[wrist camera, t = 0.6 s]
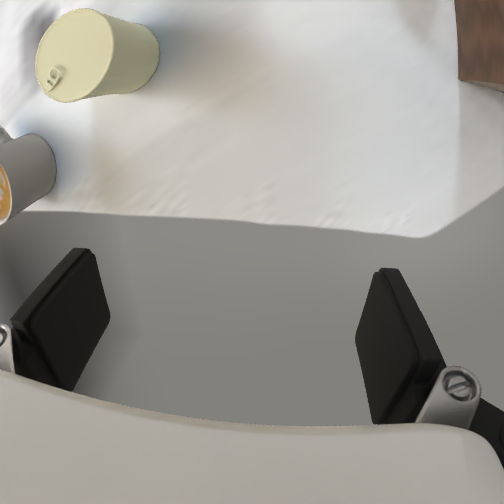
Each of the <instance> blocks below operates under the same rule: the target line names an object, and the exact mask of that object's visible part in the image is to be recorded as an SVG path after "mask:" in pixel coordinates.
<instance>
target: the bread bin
mask: <svg viewBox="0 0 504 504" xmlns="http://www.w3.org/2000/svg"><path fill="white" fill-rule="evenodd" d="M454 2H455V11H456V22H457V37H458V68H459V78H458V79H459V80H462V81H466V82H470V83H473V84H477V85H480V86H484V87H487V88H491V89H494V90H497V91H500V92H503V93H504V0H454Z"/></svg>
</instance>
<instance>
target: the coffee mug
mask: <svg viewBox="0 0 504 504" xmlns="http://www.w3.org/2000/svg"><path fill="white" fill-rule="evenodd" d="M55 178H56V162H55V158H54V154H53V152H52V150H51V148H50V146H49V145H48V143H47V142H46V141H45V140H44V139H43V138H42V137H40V136H38V135H36V134H26V135H24V136H22V137H19V138H16V139H12V138H11V137H10V136H9V134H8V133H7V132H6V131H5V129H4V128H3V127H1V126H0V225H2V224H4V223H5V222H7V221H8V220H9V219H11V218H12V217H14V216H15V215H16V214H18V213H19V212H21V211H22V210H24V209H25V208H26V207H28V206H29V205H31V204H32V203H34V202H35V201H37V200H38V199H40V198H41V197H43V196H44V195H46V194H47V193H48V192H49V191H50V190H51V189H52V187H53V184H54V182H55Z"/></svg>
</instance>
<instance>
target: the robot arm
mask: <svg viewBox="0 0 504 504" xmlns="http://www.w3.org/2000/svg"><path fill="white" fill-rule="evenodd" d="M10 320H11V322H12V325H13V328H12V329H11V330H10V328H9V327H8V326H7V325H5V324H0V504H504V412H503V411H502V410H500V409H498V408H497V407H495V406H493V405H492V404H490V403H488V402H487V401H485V400H483V399H482V398H480V397H481V385H480V382H479V380H478V378H477V377H476V376H475V375H474V374H473V373H472V372H471V371H469V370H468V369H466V368H464V367H461V366H449V367H447V366H446V364H445V362H444V359H443V357H442V355H441V353H440V350H439V348H438V346H437V344H436V342H435V339H434V337H433V335H432V333H431V331H430V329H429V327H428V325H427V322H426V320H425V318H424V316H423V314H422V312H421V311H420V309H419V308H418V306H417V303H416V301H415V299H414V297H413V296H412V293H411V292H410V290H409V288H408V286H407V284H406V282H405V280H404V278H403V277H402V275H401V273H400V271H399V270H398V269H395V268H381V269H380V270H379V272H375V273H374V275H373V278H372V282H371V285H370V289H369V292H368V296H367V299H366V302H365V306H364V309H363V312H362V316H361V319H360V322H359V325H358V328H357V331H356V336H355V343H356V347H357V352H358V356H359V360H360V364H361V369H362V374H363V378H364V383H365V388H366V393H367V397H368V403H369V407H370V413H371V418H372V422H373V424H377V425H366V426H365V425H364V426H324V427H323V426H320V427H306V426H272V425H255V424H242V423H231V422H221V421H212V420H204V419H195V418H189V417H182V416H176V415H169V414H163V413H158V412H153V411H147V410H142V409H137V408H133V407H128V406H124V405H119V404H115V403H110V402H106V401H102V400H98V399H94V398H91V397H87V396H83V395H79V394H76V393H73V392H71V391H73V389H74V387H75V385H76V383H77V381H78V379H79V377H80V375H81V373H82V371H83V370H84V368H85V366H86V364H87V362H88V360H89V358H90V356H91V355H92V353H93V351H94V349H95V347H96V345H97V343H98V342H99V340H100V338H101V336H102V334H103V333H104V331H105V329H106V327H107V325H108V324H109V321H110V311H109V308H108V304H107V301H106V297H105V294H104V289H103V286H102V282H101V278H100V274H99V270H98V266H97V261H96V257H95V255H94V254H93V253H92V252H91V251H90V249H86V248H73V249H72V250H71V251H70V252H69V253H68V254H67V255H66V256H65V257H64V259H63V260H62V261H61V262H60V263H59V264H58V265H57V266H56V267H55V268H54V269H53V270H52V271H51V272H50V274H49V275H48V276H47V277H46V278H45V279H44V280H43V281H42V282H41V284H40V285H39V286H38V287H37V288H36V289H35V291H34V292H33V293H32V294H31V295H30V296H29V298H28V299H27V300H26V301H25V302H24V303H23V305H22V306H21V307H20V308H19V309H18V311H17V312H16V313H15V314H14V315H13V317H12V318H11V319H10Z"/></svg>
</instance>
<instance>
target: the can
mask: <svg viewBox="0 0 504 504" xmlns="http://www.w3.org/2000/svg"><path fill="white" fill-rule="evenodd" d="M159 55H160V50H159V44H158V41H157V39H156V37H155V35H154V34H153V33H152V31H151V30H149V29H148V28H147V27H145V26H143V25H140V24H137V23H130V22H127V21H124V20H121V19H118V18H115V17H112V16H109V15H106V14H103V13H100V12H98V11H96V10H93V9H88V8H82V9H76V10H73V11H70V12H68V13H66V14H64V15H62V16H61V17H59V18H58V19H57V20H56V21H55V22H54V23H53V24H52V25H51V26H50V27H49V28H48V29H47V31H46V32H45V34H44V36H43V37H42V39H41V41H40V44H39V46H38V50H37V54H36V59H35V71H36V77H37V80H38V83H39V85H40V87H41V89H42V90H43V91H44V93H45V94H46V95H47V96H49V97H50V98H52V99H53V100H56V101H59V102H65V103H67V102H75V101H78V100H81V99H85V98H91V97H96V96H102V95H109V94H127V93H131V92H133V91H136V90H138V89H139V88H141V87H142V86H143V85H145V84H146V83H147V82H148V81H149V79H150V78H151V77H152V75H153V74H154V72H155V70H156V68H157V65H158V62H159Z"/></svg>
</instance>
